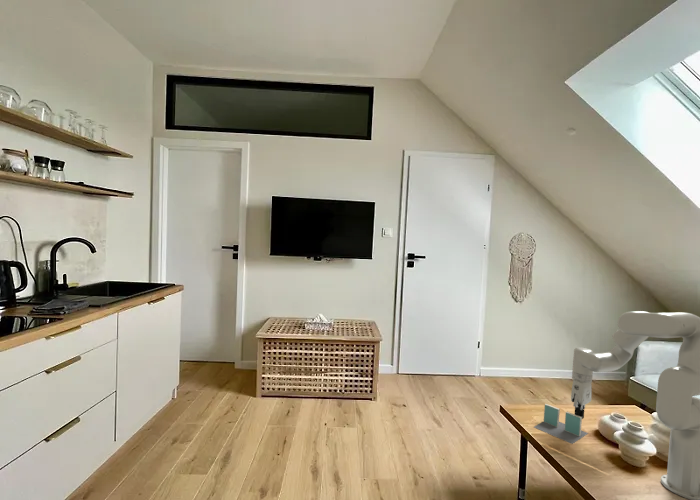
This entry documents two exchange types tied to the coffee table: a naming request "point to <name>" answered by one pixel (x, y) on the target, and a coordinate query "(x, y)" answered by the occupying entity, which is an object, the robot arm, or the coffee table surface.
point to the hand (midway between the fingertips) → (579, 417)
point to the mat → (560, 432)
